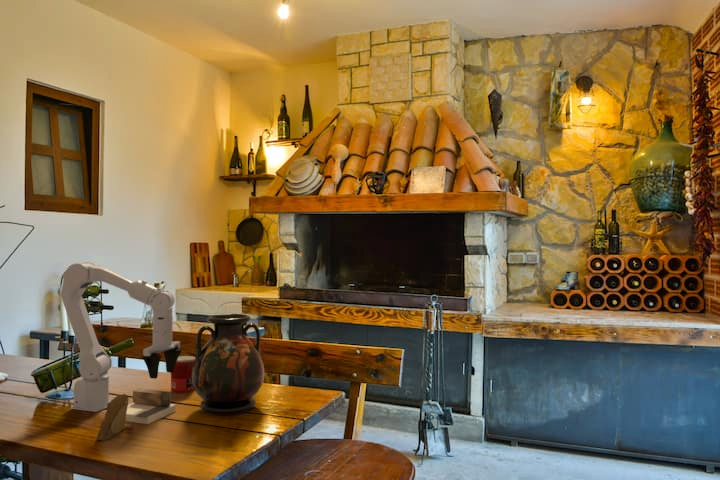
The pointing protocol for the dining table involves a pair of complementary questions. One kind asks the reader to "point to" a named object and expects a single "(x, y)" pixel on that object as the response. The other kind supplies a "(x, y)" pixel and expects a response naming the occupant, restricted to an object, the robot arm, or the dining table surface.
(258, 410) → the dining table surface
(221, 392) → the amphora vase
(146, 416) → the stool seat
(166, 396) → the stool leg
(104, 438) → the rock
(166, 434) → the dining table surface
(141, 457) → the dining table surface
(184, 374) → the canned food
